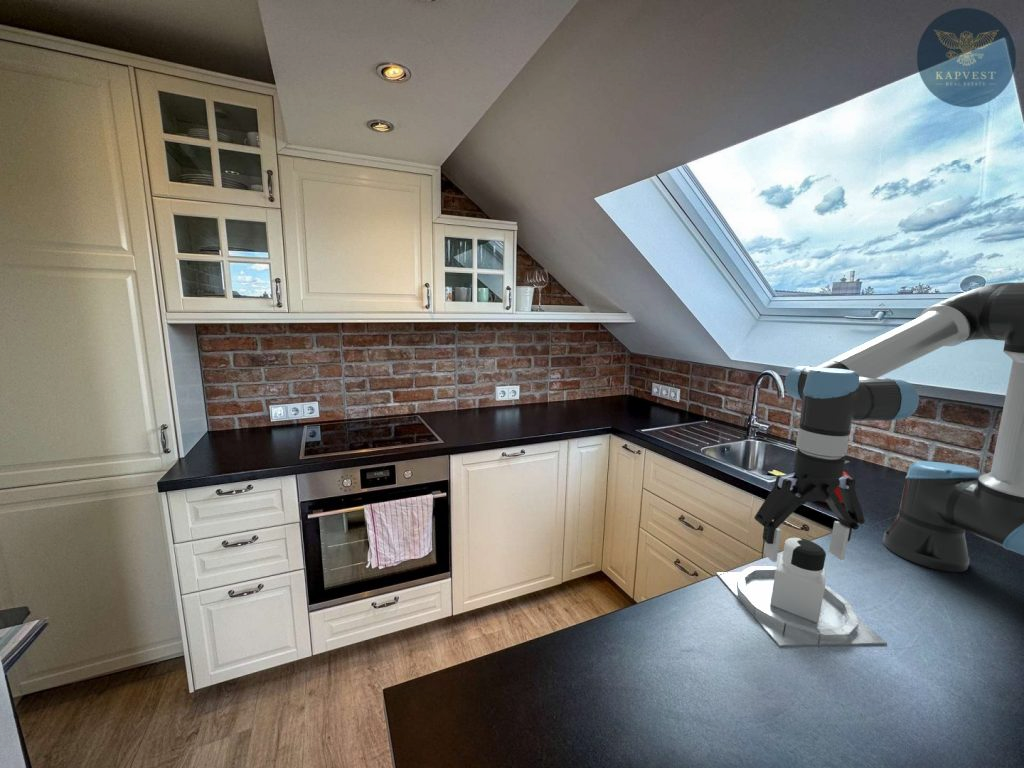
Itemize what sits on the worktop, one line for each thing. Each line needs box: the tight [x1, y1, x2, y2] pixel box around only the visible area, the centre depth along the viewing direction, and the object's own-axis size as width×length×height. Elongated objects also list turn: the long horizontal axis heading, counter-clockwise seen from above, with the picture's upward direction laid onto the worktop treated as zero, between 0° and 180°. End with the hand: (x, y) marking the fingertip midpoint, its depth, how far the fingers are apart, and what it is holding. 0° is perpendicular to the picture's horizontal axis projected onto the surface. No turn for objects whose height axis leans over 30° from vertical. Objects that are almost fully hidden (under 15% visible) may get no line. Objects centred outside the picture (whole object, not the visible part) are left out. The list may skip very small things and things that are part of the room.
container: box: [770, 537, 827, 623], centre depth 82 cm, size 8×8×13 cm
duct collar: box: [716, 565, 888, 648], centre depth 83 cm, size 20×20×2 cm
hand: (803, 556), depth 81 cm, fingers open, 13 cm apart
